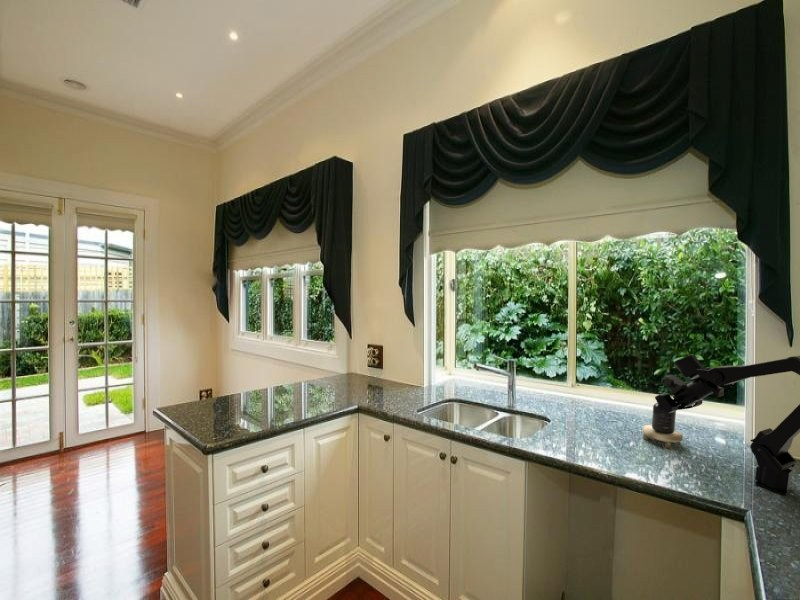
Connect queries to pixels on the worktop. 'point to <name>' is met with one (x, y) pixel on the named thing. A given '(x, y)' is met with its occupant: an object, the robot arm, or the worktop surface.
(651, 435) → the stool
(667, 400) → the robot arm
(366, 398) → the worktop surface
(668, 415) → the supplement bottle
